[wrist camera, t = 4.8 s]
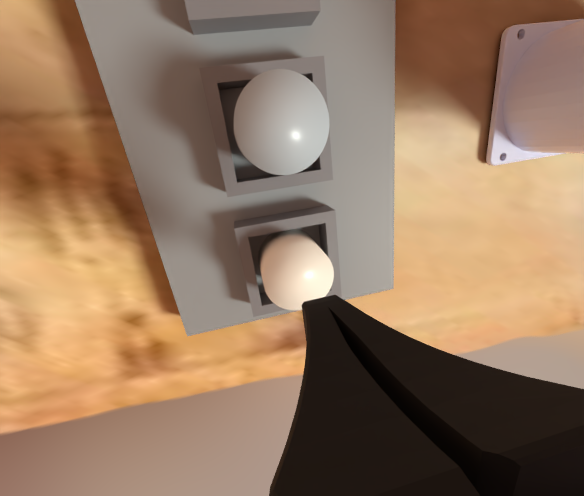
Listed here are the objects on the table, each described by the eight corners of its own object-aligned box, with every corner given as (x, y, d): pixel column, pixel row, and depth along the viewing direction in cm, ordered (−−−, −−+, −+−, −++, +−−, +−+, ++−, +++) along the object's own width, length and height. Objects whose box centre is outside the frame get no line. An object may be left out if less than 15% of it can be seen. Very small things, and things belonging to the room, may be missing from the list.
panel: (373, -139, 13) (420, -235, 10) (379, 276, 21) (405, 299, 18) (45, -141, 11) (-33, -262, 8) (191, 318, 19) (183, 352, 16)
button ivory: (314, 223, 16) (331, 238, 13) (319, 277, 17) (336, 301, 15) (253, 234, 15) (257, 253, 13) (263, 289, 17) (269, 317, 14)
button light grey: (304, 82, 12) (325, 64, 10) (312, 163, 14) (333, 167, 11) (226, 91, 12) (223, 74, 9) (241, 174, 13) (244, 182, 11)
